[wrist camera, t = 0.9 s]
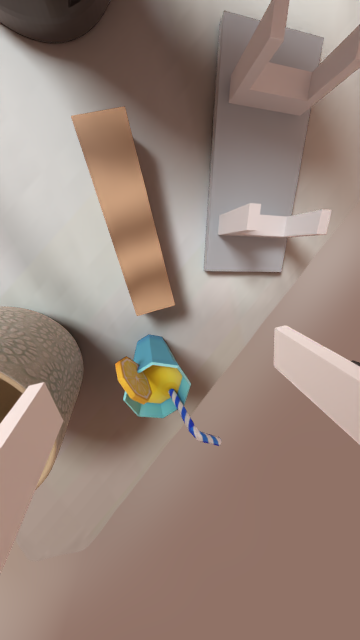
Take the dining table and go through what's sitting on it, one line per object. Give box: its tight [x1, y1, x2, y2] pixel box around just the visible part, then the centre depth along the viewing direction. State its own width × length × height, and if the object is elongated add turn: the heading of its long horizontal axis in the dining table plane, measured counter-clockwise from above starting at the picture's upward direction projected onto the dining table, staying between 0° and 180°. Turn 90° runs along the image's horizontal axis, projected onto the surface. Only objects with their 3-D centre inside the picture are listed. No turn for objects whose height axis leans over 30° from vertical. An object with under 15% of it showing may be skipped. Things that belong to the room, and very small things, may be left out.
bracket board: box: [204, 0, 360, 272], centre depth 23 cm, size 26×12×9 cm, turn 178°
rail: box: [71, 106, 175, 316], centre depth 25 cm, size 20×5×5 cm, turn 13°
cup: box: [115, 335, 222, 446], centre depth 27 cm, size 14×8×15 cm, turn 52°
